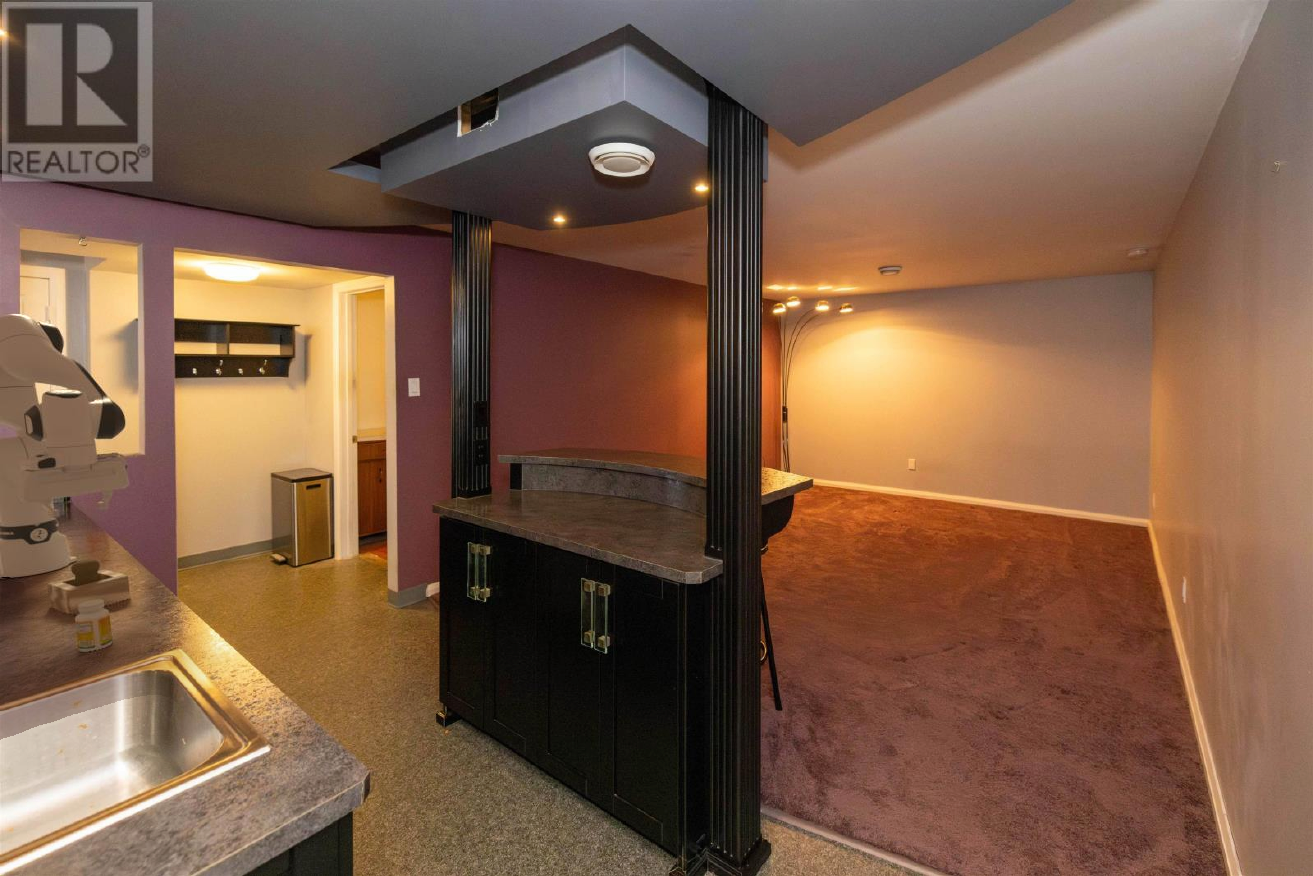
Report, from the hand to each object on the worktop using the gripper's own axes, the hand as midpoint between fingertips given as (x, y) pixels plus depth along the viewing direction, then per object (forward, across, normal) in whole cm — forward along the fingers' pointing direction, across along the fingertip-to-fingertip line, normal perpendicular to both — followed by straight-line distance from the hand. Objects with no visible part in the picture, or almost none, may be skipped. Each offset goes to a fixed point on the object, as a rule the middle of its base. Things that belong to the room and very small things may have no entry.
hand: (79, 513), depth 152 cm
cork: (+23, 0, 0) cm, 23 cm away
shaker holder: (+23, 0, 0) cm, 23 cm away
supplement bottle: (+23, +12, +32) cm, 41 cm away
